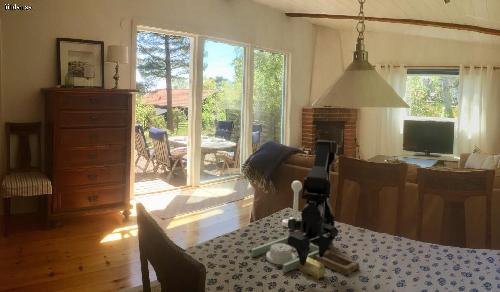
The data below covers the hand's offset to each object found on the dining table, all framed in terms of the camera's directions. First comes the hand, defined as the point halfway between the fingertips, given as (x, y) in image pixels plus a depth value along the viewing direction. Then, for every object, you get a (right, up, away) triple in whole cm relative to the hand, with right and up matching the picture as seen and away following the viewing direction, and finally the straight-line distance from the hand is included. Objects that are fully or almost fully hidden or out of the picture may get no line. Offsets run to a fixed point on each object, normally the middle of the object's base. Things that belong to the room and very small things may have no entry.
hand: (311, 261), depth 128 cm
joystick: (-3, +3, +41) cm, 41 cm away
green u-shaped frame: (-7, -2, +12) cm, 14 cm away
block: (0, -4, 0) cm, 4 cm away
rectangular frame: (+9, -3, +6) cm, 12 cm away
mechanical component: (-9, -2, +10) cm, 14 cm away
